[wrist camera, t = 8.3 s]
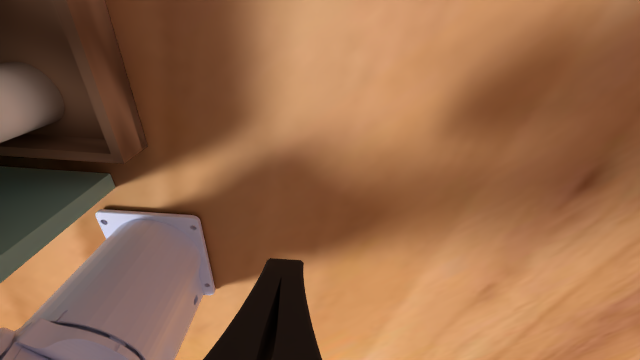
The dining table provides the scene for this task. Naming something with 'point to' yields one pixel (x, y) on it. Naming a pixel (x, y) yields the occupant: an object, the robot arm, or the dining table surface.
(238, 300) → the dining table surface
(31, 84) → the cup
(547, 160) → the dining table surface
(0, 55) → the tray
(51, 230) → the box
